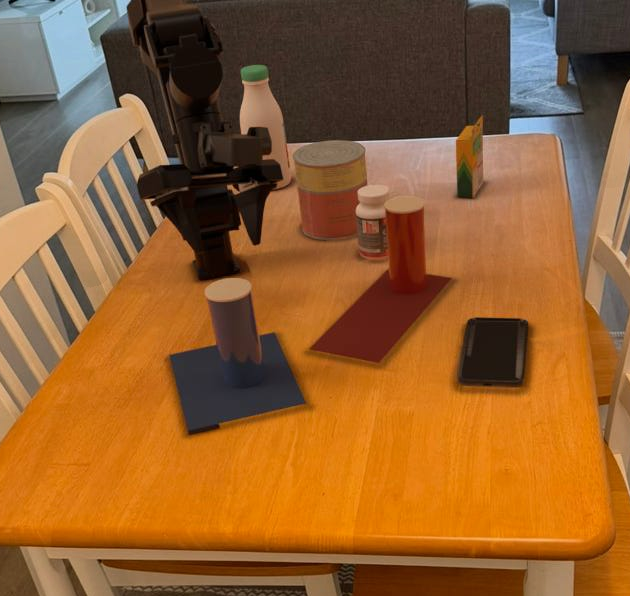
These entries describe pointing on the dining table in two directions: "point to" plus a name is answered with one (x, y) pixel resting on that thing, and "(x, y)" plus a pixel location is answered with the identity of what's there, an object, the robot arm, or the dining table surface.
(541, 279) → the dining table surface
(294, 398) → the blue mat
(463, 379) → the phone
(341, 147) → the canned food
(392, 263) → the red canister
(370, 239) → the pill bottle
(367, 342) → the red mat
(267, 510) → the dining table surface
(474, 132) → the crayon box
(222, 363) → the blue canister
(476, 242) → the dining table surface
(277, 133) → the milk bottle
